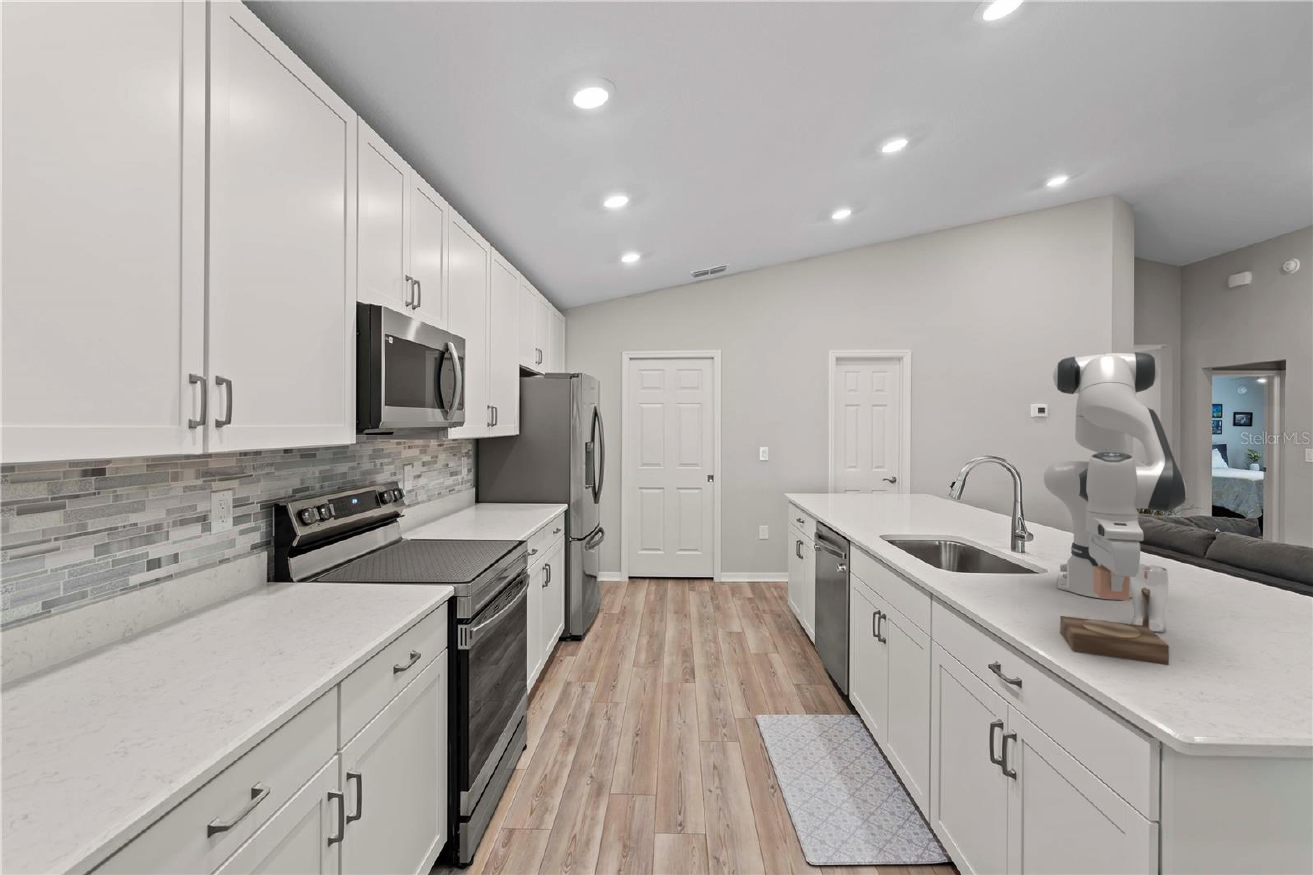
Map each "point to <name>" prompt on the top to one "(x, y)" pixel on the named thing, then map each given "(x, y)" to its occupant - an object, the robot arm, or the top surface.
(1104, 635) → the block
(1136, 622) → the beer glass
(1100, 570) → the terracotta block
